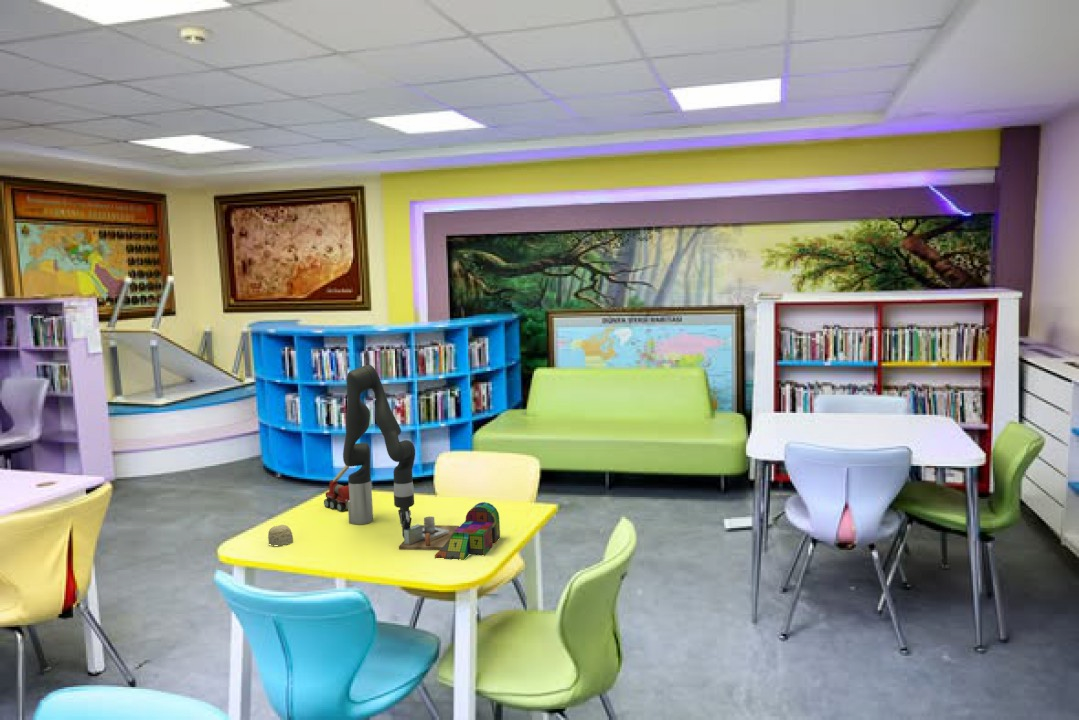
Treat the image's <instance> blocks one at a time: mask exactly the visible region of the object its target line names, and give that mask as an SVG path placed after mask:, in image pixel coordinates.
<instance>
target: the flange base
mask: <svg viewBox="0 0 1079 720" xmlns="http://www.w3.org/2000/svg"><path fill="white" fill-rule="evenodd" d="M435 523H436V521H435V517H434V516H425V517H423V524H421V525H422V529H423V528H424V530H425V540H424V539H422V540H420V541H418V542H415V543H413V544H410V545H407V544H404V540H403V541H402V543H400V544H399V545H398V550H400V551H402V550H404V551H405V550H407V551H439V550H440V549H441V548H442V547H443V546H444V545H445V544H446V543H447V542H448V541H449V540H450V539H451V538H452V537H453V532H454V531H455V530H456V529H457V528H458V527H460V525H449V524H448V525H445V524H444V525H443V524H441V525H439V524H438V525H436V524H435ZM435 527H436V528H441V529H445V530H449V533H448V534H446V535H444V536H441V537H439V538H437V539H434V540H432V541H430V535H432V534H434V533H435Z"/></svg>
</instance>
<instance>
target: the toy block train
mask: <svg viewBox="0 0 1079 720" xmlns="http://www.w3.org/2000/svg"><path fill="white" fill-rule="evenodd" d="M499 538H500V539H501V527H500V514H499V512H498V509H497V508H496V507H495V506H494V504H491V503H489V502H485V501H483V502H478V503H476V504H475V505H474V506H472V508H471V509H469V510H468V512H467V513H466V516H465V521H464V522H462V524H460V525H459V527H458V528H457V529H456V530H455V531H454V532H453V537H452V538H451V539H450V540H449V541H448V542H447V543H446V544H445V545H444V546H443V547H442V548H441V549H440V550H437V552H436V553H435V554H434V559H436V558H444V559H443V560H452V559H458V561H465V560H466V559H467V558H468V557H469V556H470V555H469V554H471V556H482V555H484V556H486V554H488V552H489V551H490V550H491V549H492V547H493V544H496V543H497V542H498V541H499V540H500V539H499ZM498 539H499V540H498ZM468 555H469V556H468ZM467 556H468V557H467ZM466 557H467V558H466ZM465 558H466V559H465ZM459 559H461V560H459ZM464 559H465V560H464Z"/></svg>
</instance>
